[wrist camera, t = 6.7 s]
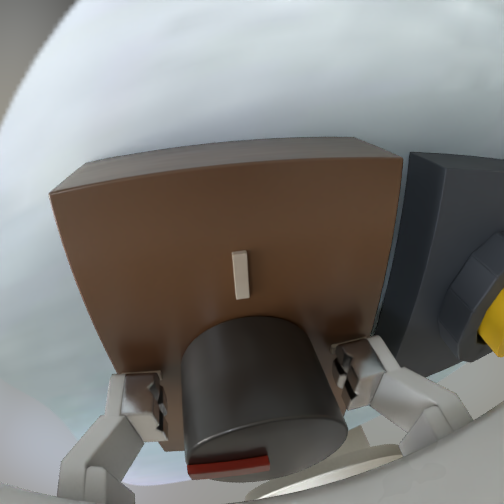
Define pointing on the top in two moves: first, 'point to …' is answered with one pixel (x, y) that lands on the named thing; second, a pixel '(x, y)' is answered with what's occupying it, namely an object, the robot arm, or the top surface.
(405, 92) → the top surface
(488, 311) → the button
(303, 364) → the knob
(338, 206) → the dial panel
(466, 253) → the button box
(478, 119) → the top surface
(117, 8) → the top surface
